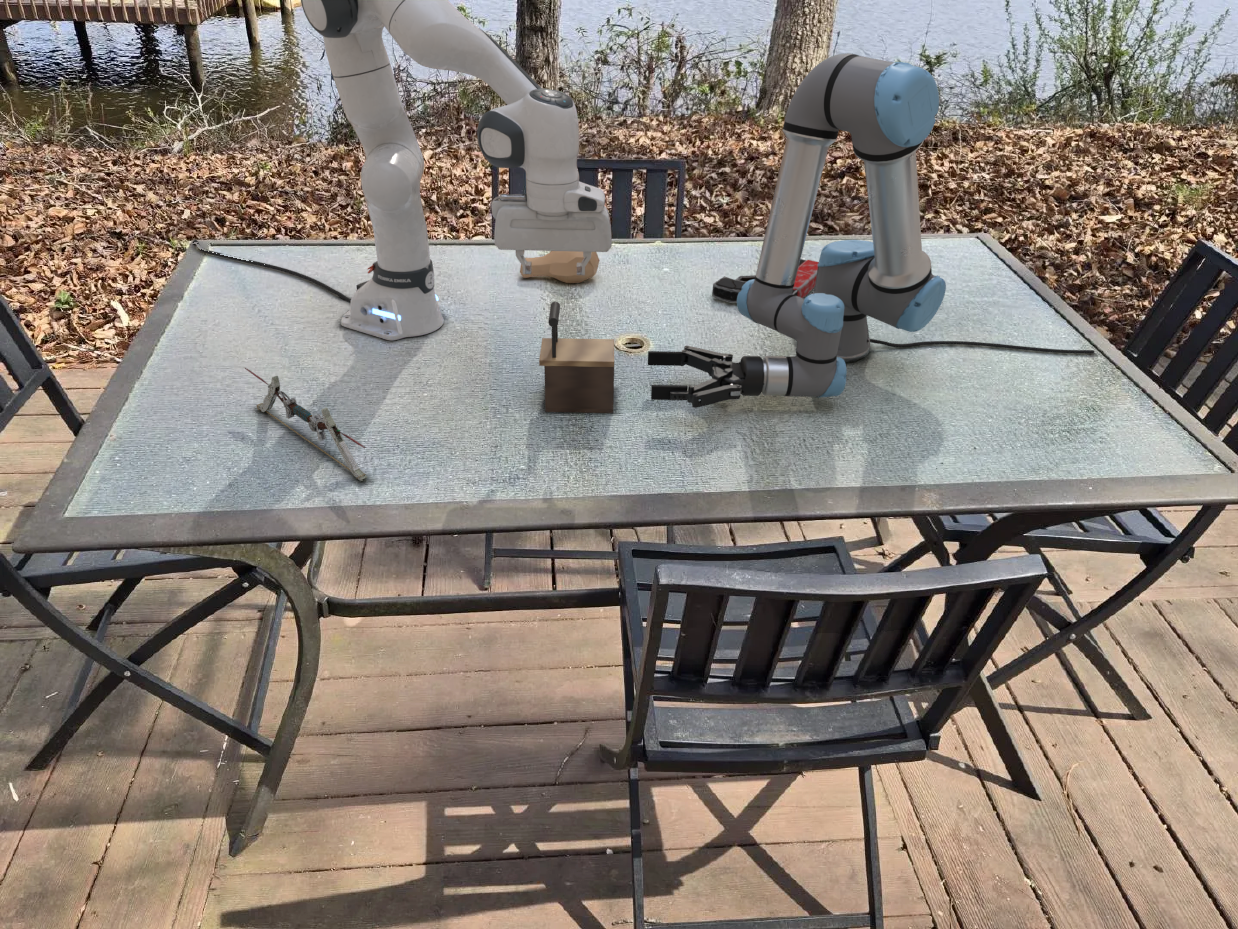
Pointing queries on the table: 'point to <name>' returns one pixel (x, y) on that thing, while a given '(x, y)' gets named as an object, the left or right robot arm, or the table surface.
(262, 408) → the bow
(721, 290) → the gun
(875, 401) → the table surface
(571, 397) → the chest
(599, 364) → the lid
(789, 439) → the table surface
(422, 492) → the table surface
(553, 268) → the squash
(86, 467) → the table surface
